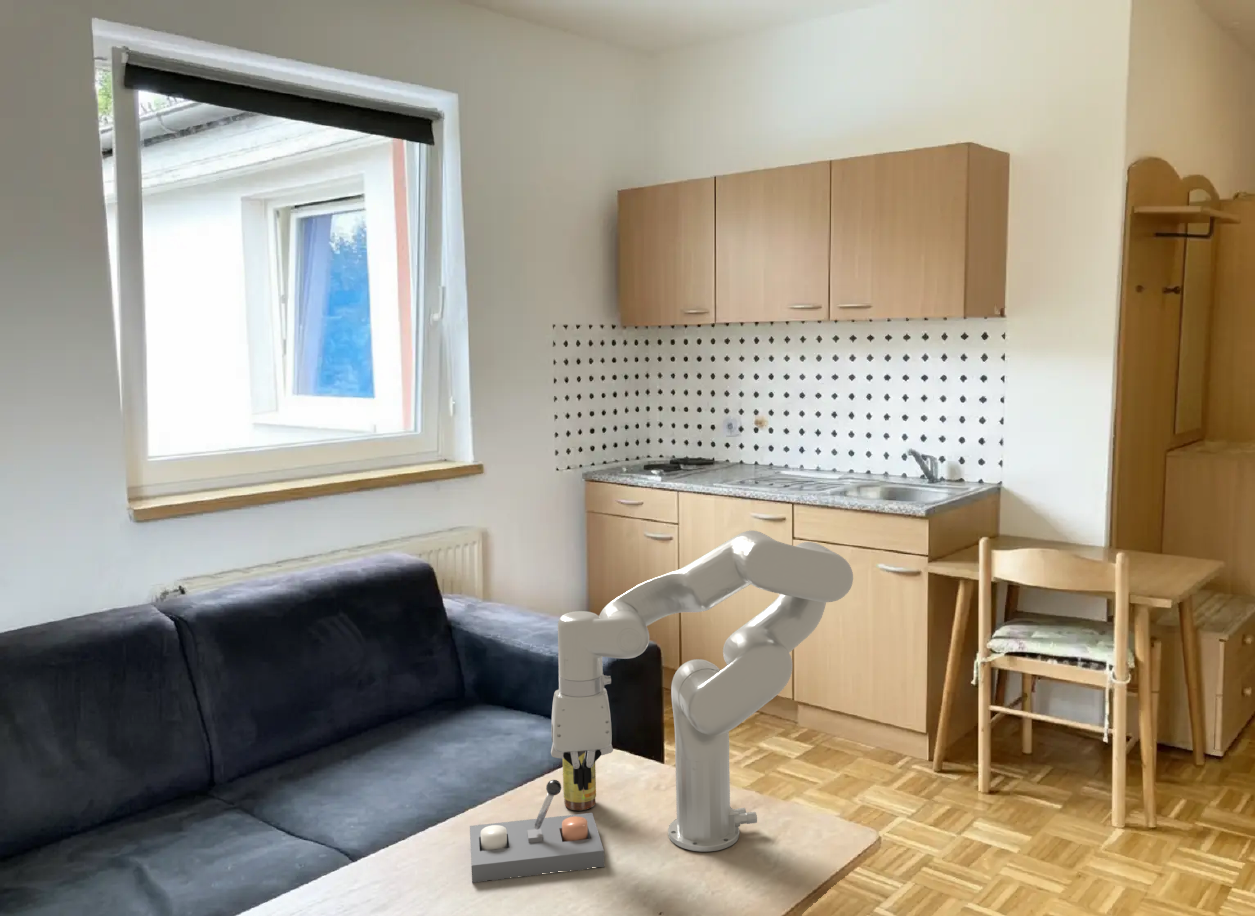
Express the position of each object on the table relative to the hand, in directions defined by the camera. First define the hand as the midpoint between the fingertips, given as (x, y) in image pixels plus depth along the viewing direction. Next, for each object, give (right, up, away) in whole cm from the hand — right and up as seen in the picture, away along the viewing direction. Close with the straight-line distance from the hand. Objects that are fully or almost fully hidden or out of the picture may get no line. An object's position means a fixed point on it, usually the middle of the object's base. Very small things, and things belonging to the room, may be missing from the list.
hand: (582, 786), depth 174 cm
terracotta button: (-1, -10, +1) cm, 10 cm away
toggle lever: (-8, -8, -1) cm, 11 cm away
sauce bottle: (-1, -10, +18) cm, 21 cm away
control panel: (-8, -12, 0) cm, 14 cm away
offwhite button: (-15, -10, -2) cm, 18 cm away
